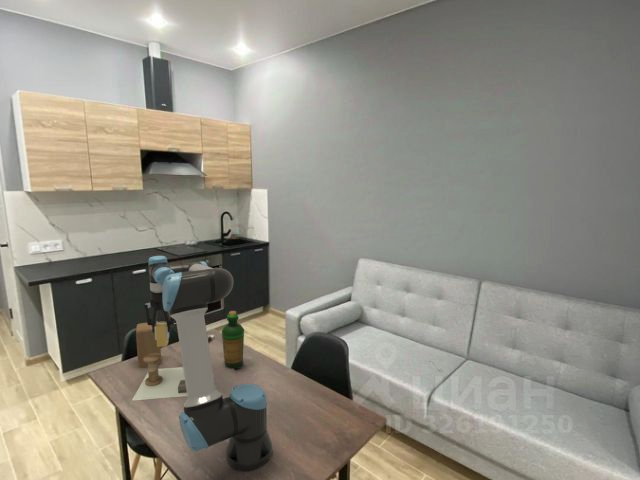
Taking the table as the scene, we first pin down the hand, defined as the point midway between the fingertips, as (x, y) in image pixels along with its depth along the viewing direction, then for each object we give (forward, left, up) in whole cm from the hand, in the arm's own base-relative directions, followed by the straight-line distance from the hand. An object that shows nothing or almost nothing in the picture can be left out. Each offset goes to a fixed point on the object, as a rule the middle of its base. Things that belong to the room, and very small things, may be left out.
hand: (162, 338), depth 161 cm
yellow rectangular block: (0, 0, -3) cm, 3 cm away
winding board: (-9, -4, -18) cm, 20 cm away
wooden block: (+11, +9, -18) cm, 23 cm away
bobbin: (-8, +2, -17) cm, 19 cm away
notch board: (-9, -12, -17) cm, 23 cm away
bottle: (+3, -32, -18) cm, 37 cm away
